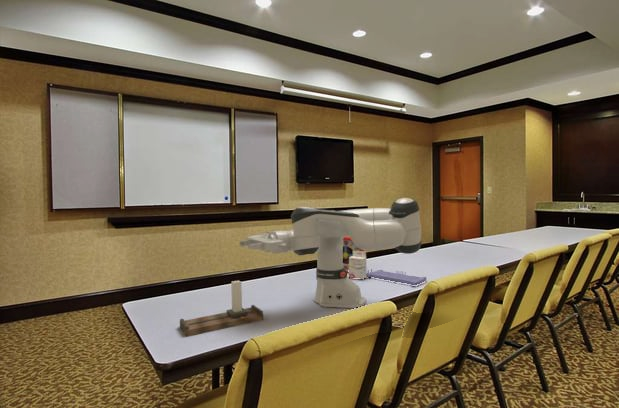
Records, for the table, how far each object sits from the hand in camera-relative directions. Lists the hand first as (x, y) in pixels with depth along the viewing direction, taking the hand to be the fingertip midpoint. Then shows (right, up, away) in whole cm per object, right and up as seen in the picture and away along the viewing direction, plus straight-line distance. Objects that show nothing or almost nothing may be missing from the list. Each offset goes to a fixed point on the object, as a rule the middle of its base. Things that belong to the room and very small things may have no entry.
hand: (244, 245), depth 134 cm
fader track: (-7, -28, -3) cm, 29 cm away
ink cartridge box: (+50, -25, +59) cm, 82 cm away
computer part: (+69, -25, +55) cm, 92 cm away
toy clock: (+46, -24, +76) cm, 93 cm away
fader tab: (-3, -26, 0) cm, 26 cm away
